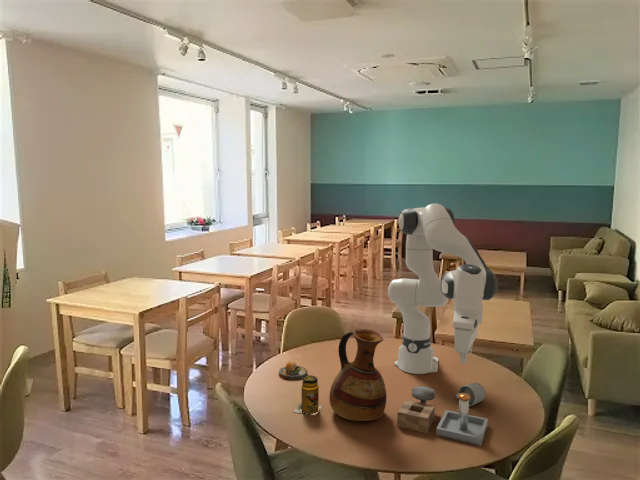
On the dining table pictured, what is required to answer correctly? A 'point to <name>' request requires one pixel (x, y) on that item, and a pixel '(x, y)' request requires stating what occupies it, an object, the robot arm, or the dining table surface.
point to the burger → (292, 371)
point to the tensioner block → (417, 410)
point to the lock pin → (463, 411)
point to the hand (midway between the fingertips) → (465, 357)
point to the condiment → (309, 396)
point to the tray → (450, 430)
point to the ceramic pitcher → (359, 380)
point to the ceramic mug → (473, 392)
